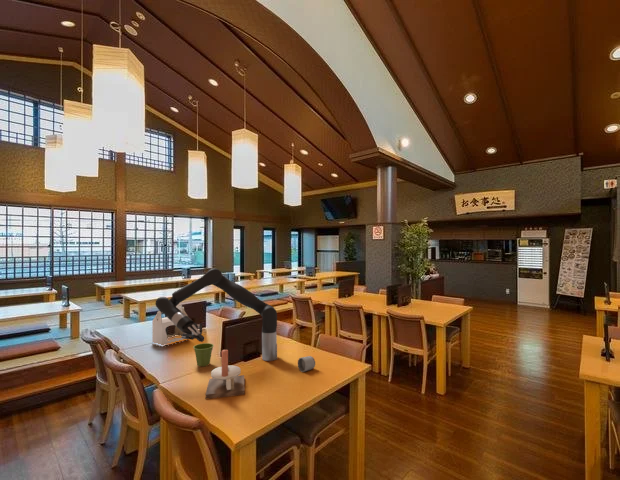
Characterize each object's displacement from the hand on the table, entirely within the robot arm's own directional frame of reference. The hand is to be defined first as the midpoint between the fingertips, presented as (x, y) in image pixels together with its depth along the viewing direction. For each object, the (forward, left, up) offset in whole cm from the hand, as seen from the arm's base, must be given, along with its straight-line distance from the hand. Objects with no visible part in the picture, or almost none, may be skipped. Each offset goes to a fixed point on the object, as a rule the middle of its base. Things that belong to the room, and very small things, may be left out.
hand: (203, 340), depth 162 cm
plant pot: (+3, -27, -23) cm, 35 cm away
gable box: (+33, -81, -23) cm, 90 cm away
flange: (-12, +10, -19) cm, 25 cm away
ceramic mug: (-56, -4, -23) cm, 60 cm away
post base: (-12, +9, -22) cm, 27 cm away
